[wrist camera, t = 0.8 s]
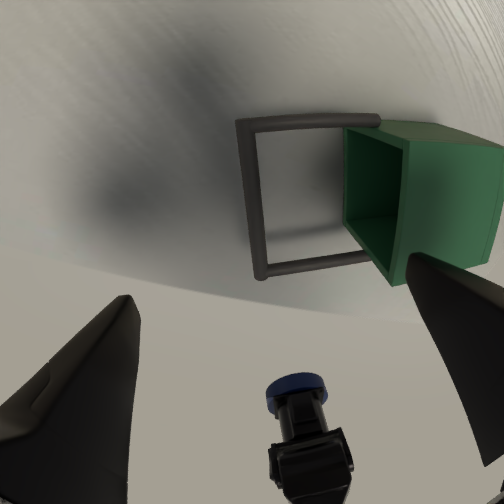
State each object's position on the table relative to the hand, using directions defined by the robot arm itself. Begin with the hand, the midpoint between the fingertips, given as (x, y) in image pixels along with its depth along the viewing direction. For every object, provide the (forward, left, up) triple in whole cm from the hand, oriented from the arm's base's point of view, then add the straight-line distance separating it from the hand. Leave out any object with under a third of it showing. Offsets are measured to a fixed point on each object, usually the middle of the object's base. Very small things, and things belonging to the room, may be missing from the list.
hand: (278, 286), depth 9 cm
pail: (0, -6, -10) cm, 12 cm away
